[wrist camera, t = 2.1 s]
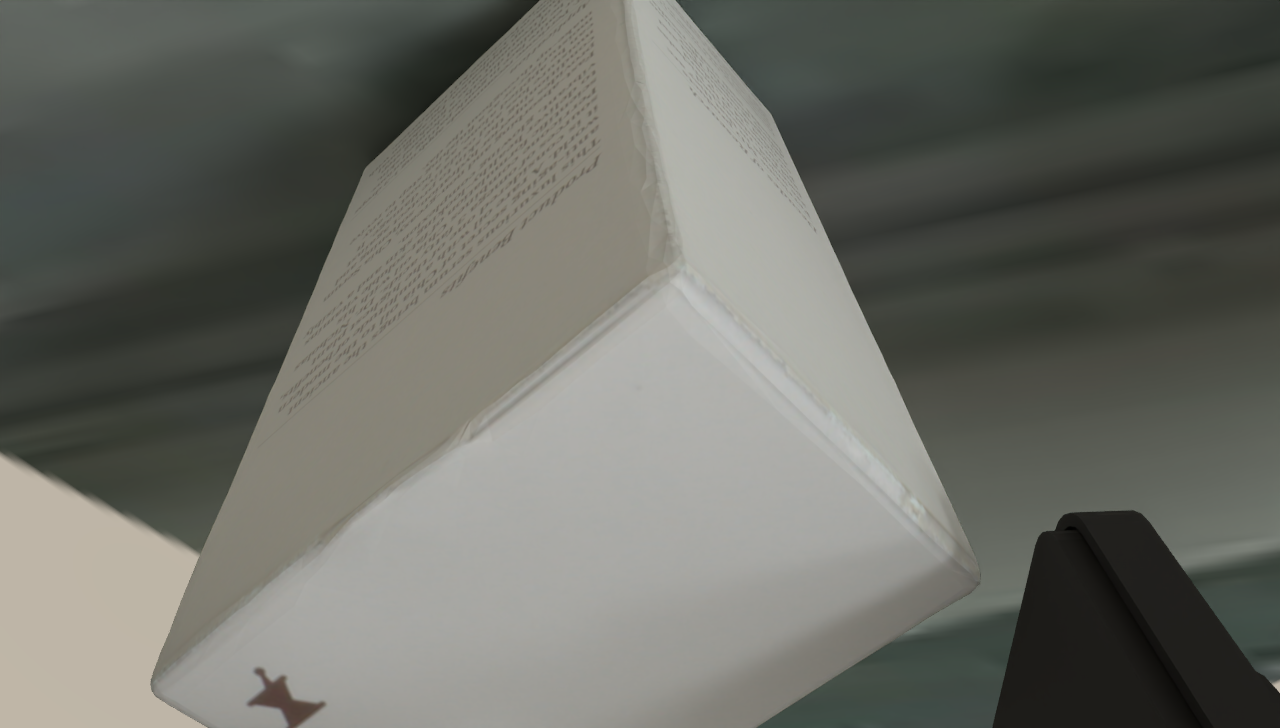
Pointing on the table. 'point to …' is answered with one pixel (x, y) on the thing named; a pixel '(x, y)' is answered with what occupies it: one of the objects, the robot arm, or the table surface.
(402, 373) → the skincare box
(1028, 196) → the table surface
